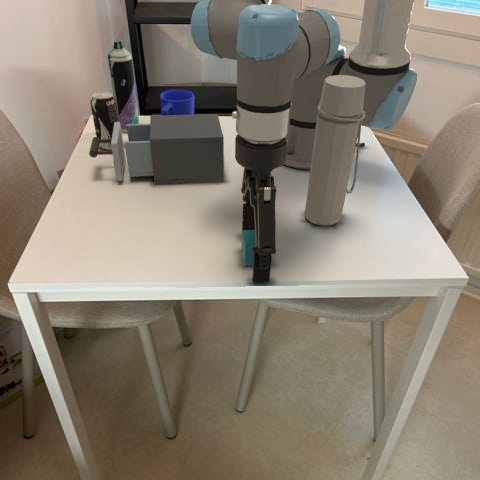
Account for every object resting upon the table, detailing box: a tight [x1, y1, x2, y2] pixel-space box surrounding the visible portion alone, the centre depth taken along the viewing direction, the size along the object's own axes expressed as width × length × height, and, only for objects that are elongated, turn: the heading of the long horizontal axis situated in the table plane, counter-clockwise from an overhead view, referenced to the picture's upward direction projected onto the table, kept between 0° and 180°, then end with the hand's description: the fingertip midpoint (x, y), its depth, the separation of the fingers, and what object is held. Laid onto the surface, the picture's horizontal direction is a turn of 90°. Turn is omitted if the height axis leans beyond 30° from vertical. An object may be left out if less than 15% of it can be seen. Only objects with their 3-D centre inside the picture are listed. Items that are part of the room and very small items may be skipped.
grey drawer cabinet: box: [149, 113, 225, 185], centre depth 104 cm, size 15×13×10 cm
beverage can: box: [90, 90, 119, 151], centre depth 111 cm, size 6×6×12 cm
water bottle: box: [304, 75, 366, 227], centre depth 85 cm, size 9×8×25 cm
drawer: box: [88, 122, 154, 181], centre depth 103 cm, size 19×12×8 cm, turn 97°
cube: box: [240, 229, 256, 267], centre depth 82 cm, size 4×4×4 cm
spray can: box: [107, 40, 140, 133], centre depth 117 cm, size 6×6×20 cm
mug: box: [159, 89, 195, 115], centre depth 116 cm, size 8×12×10 cm
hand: (254, 257), depth 83 cm, fingers open, 13 cm apart
